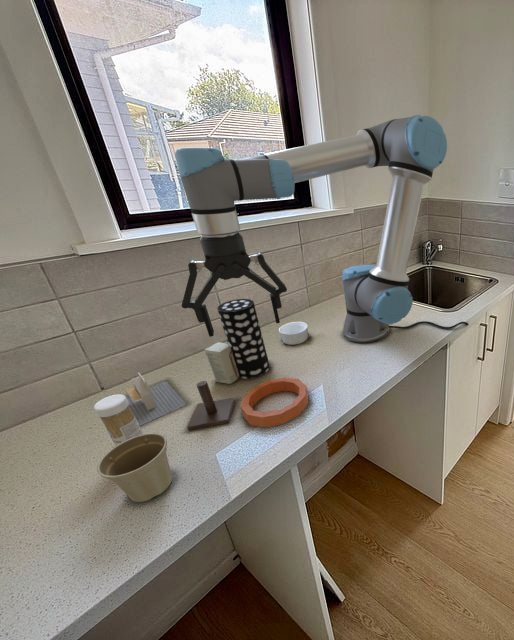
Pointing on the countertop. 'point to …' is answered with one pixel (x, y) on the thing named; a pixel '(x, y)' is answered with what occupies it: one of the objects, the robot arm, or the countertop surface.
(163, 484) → the flower pot
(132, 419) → the sprinkles bottle
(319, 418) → the countertop surface
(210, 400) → the stand
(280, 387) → the ring
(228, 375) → the pale small box
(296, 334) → the ramekin
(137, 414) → the architectural model
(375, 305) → the robot arm
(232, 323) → the spotted tube
